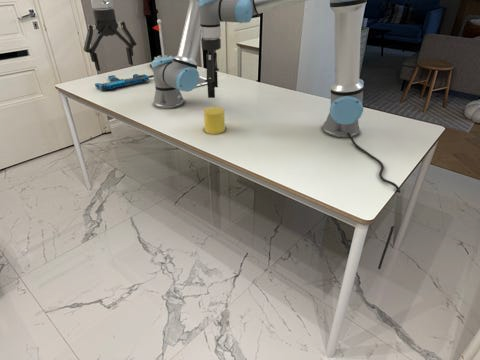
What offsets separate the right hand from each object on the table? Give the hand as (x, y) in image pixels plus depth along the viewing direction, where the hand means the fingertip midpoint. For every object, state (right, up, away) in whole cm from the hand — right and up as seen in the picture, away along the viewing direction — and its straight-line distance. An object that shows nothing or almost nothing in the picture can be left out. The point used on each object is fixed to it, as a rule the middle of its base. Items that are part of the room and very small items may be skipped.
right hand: (213, 92), depth 142 cm
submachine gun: (-60, +23, +67) cm, 93 cm away
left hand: (-39, +9, -5) cm, 41 cm away
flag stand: (-43, +45, +101) cm, 118 cm away
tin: (0, -14, +9) cm, 17 cm away
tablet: (-22, +26, +72) cm, 80 cm away
